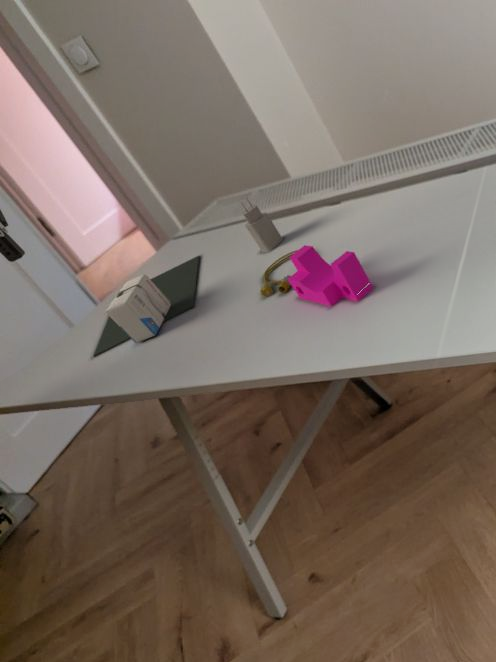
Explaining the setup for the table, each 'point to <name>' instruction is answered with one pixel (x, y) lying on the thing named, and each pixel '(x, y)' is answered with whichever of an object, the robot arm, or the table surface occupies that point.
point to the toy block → (328, 277)
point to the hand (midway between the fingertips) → (18, 258)
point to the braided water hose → (284, 282)
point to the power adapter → (261, 228)
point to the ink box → (139, 308)
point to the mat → (175, 288)
